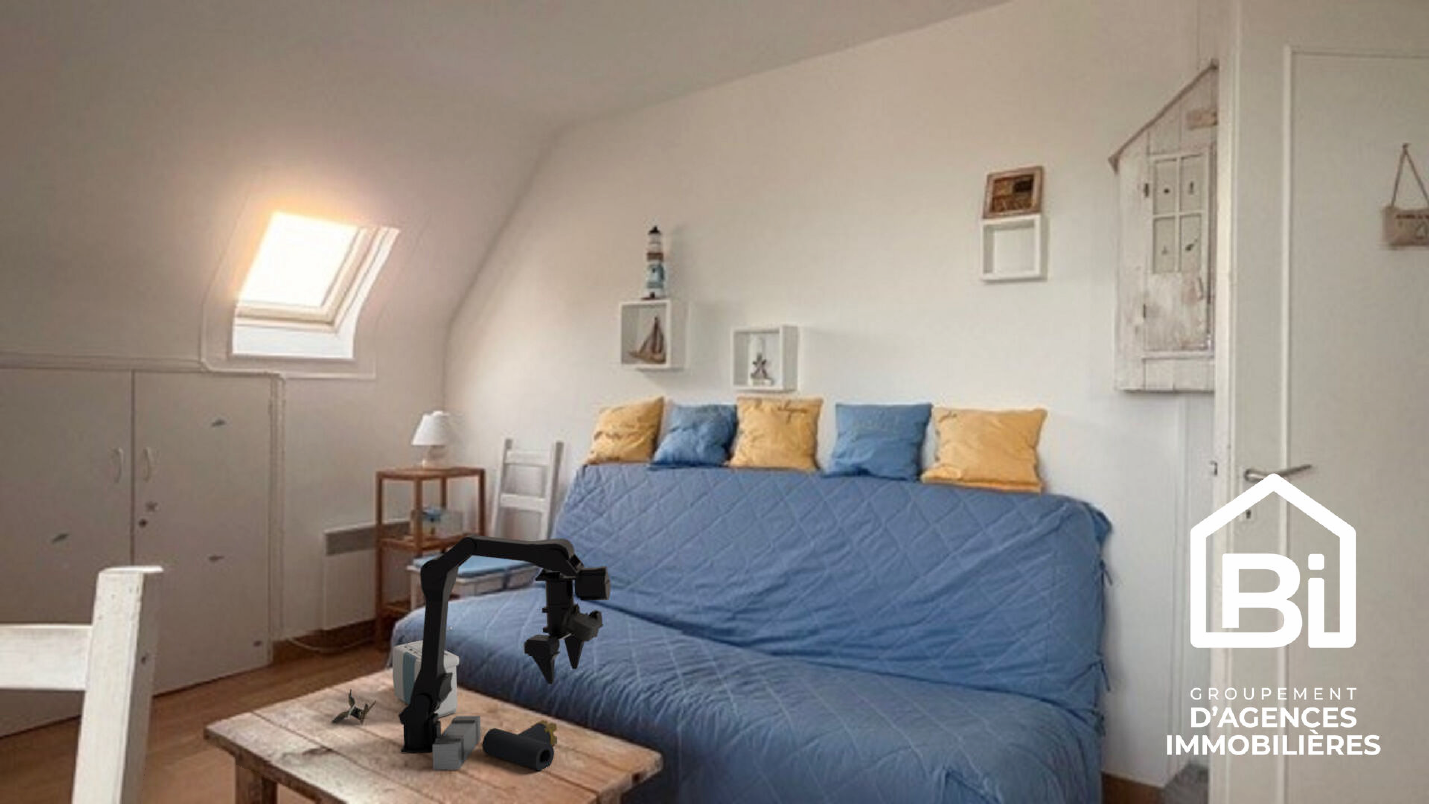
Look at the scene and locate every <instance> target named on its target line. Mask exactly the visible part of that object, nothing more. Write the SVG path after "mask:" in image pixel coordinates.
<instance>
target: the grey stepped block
mask: <svg viewBox="0 0 1429 804" xmlns="http://www.w3.org/2000/svg"><path fill="white" fill-rule="evenodd" d="M481 733H482V732H481V715H456V716H455V717H453V718H452V719H451V723H450V724H448V726H447V727H446V728H445V729H444V731H443V732H441V735H439V736H438V737H437V738H436V741H435V742H434V744H433V751H432V769H433V771H457V770H460V769H461V767H462V766H463V764H464V763H465V762H466V760H467V759H468V758H469V756H470V755H471V753H472V752H473V750H475V748H476V746H477V745H478V744H479V743H480V740H482V735H481ZM446 769H447V770H446Z"/></svg>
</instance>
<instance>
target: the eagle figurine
mask: <svg viewBox="0 0 1429 804" xmlns="http://www.w3.org/2000/svg"><path fill="white" fill-rule="evenodd" d="M352 691H353V690H352V688H350V690H349V693H348V699H347V702H348V705H349V706H350V708H349V709H348V710H345V711H342V712H340V713H338V714H337V715H336V716H335V718H334V719H332V720H331V723H332V722H335V721H342V720H345V719H347V718H348V719H349V717H353V718H355V719H356V720H360V721H359V722H360V725H361V724H364V721H365V718H366V716H367V715H368V713H369V711H370V710H371V709H372V708H373V707H374V706H375V705H376V704H377V703H376V702H377V701H378V700H374V702H372V703H371V705H370V706H369V703H368V702H365V704H364V706H363V707H364V708H363V709H362V708H359V707H357V706H356V701H355V698H354V697H353V696H352V693H353V692H352Z"/></svg>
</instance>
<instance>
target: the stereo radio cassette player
mask: <svg viewBox="0 0 1429 804" xmlns="http://www.w3.org/2000/svg"><path fill="white" fill-rule="evenodd" d="M452 629H453V627H449V628H448V629H446V633H448V632H449V631H451V630H452ZM422 643H423V639H422V640H416V641H412V642H408V643H403V644H400V645H399V644H398V645H395V646H394V647H393V648H392V649H393V650H392V684H393V695H394V696H395V697H397V698H398V699H399V700H401V701H402V702H404V703H405V704H407V706H408V705H409V704H410V697H411V693H412V689H413V685H414V683H415V680H416V678H417V676H418V673H419V671H420V667H421V656H422ZM459 665H460V656H458V655H456V654H454V653H452V652H449V651H447V650H445V652H444V668H445V670H446V673H450V672H452V673H453V676H452V680H451V687H452V691H451V692H450V693H449V694H448V696H447V698H446V699H445V700H444V701H443V702H442V703H441V705H440V708H439V709H438V710H436V711H435V712H434V713H438V719H440V718H443V717H446V716H448V715H452V714H455V713H457V710H458V694H457V693H458V692H457V690H458V689H457V686H458V685H457V666H459Z"/></svg>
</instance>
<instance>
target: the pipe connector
mask: <svg viewBox="0 0 1429 804" xmlns="http://www.w3.org/2000/svg"><path fill="white" fill-rule="evenodd" d="M557 730H558V729H557V723H554V722H551V723H548V721H546V720H543V719H542V720H539V721H538V722H536V723H534V724H532V725H531V726H530V727H529V728H527V729H525V730H523V731H521V732H519V733H518V734H516V733H513V732H510V731H507V730H503V729H499V728H495V727H493V728H490V729H489V730H488V731H487V732H486V733H485V734H484V736H483V740H482V744H481V746H482V751H483V752H484V753H485V754H487V755H488V756H489V755H490V756H492V757H495V758H500V759H502V760H506V761H508V762H510V763H511V762H512V763H513V764H514V763H515V764H518V765H521V766H524V767H527V768H531V769H534V770H536V771H540V772H542V771H543V770H542V769H544V770H546V769H547V768H549V767H550V766H551V765H552V763H553V760H554V757H555V749H554V747H553V746H555V745H556V744H558V736H555V734H554V732H556V731H557ZM548 766H549V767H548ZM546 767H547V768H546ZM545 768H546V769H545ZM541 770H542V771H541Z"/></svg>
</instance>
